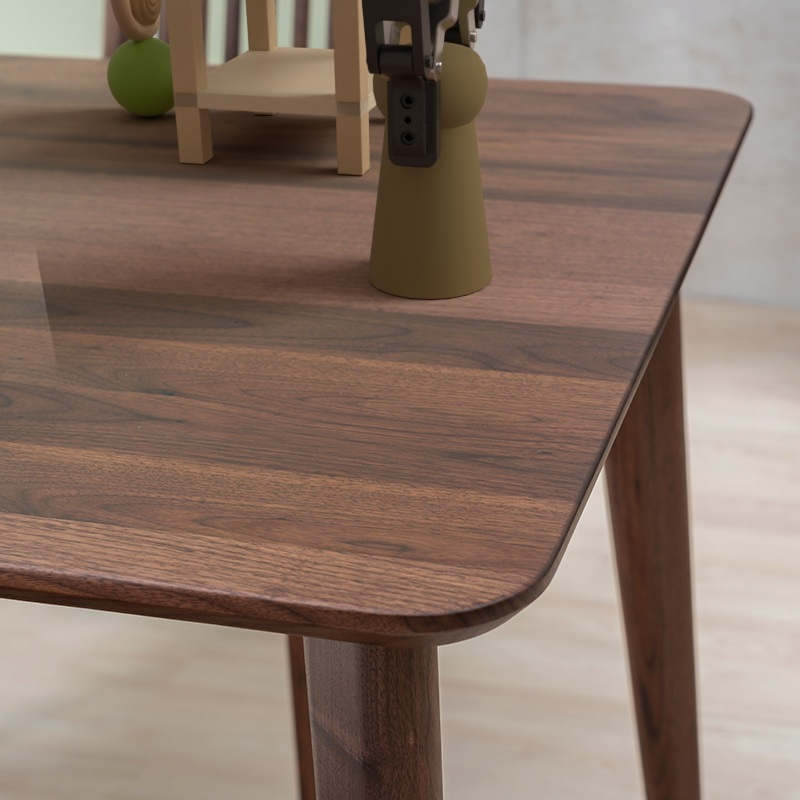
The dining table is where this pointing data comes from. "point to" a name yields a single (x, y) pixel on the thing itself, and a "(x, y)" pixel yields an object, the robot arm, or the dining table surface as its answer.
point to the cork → (435, 197)
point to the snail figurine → (141, 60)
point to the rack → (274, 79)
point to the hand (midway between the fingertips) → (430, 145)
